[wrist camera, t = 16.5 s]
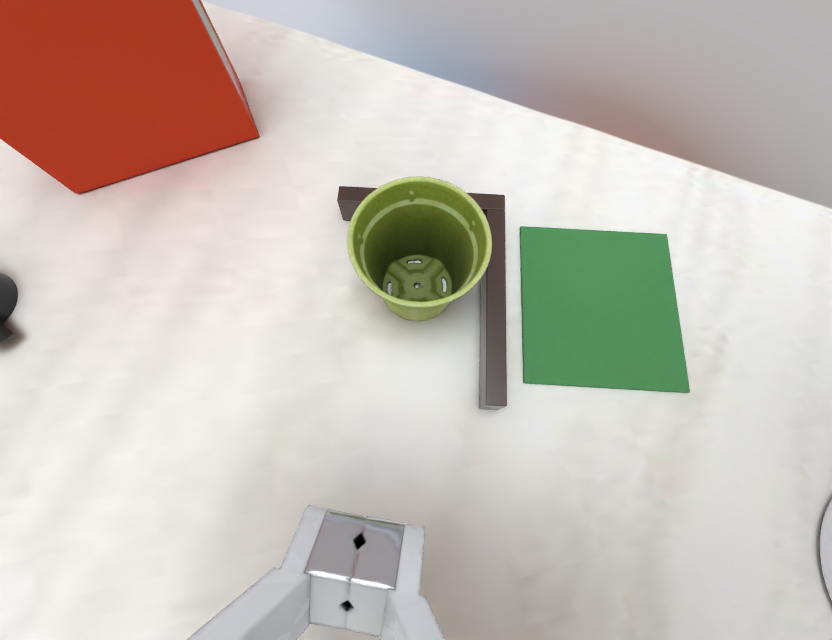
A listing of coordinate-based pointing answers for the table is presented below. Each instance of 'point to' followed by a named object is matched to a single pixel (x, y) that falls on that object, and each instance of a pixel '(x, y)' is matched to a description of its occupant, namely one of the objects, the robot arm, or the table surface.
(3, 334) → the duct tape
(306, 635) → the table surface
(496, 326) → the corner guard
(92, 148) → the file binder
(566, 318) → the green cloth
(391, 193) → the plant pot
